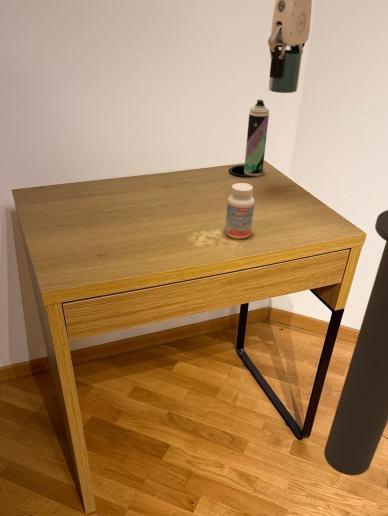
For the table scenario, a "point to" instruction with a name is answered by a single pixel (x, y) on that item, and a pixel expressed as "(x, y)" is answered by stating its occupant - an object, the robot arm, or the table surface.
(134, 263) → the table surface
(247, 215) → the pill bottle
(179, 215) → the table surface
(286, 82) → the cup
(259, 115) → the spray can
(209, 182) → the table surface
